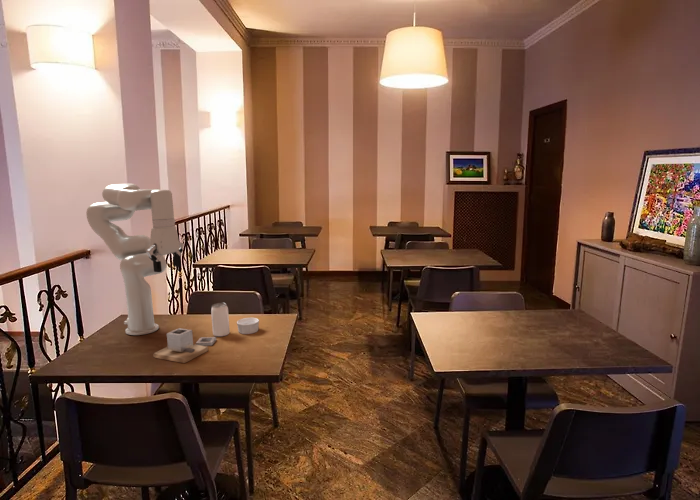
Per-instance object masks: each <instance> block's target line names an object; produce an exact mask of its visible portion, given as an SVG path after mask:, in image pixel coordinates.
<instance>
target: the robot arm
mask: <svg viewBox="0 0 700 500" xmlns="http://www.w3.org/2000/svg"><path fill="white" fill-rule="evenodd" d="M101 195H102V199H103V200H104V201H102V202H101V201H100V202H95V203H92V204H90V205H89V206H88V207H87V209H86V215H85V216H86V219H87V222H88V224H89V226H90V228H91V229H92V230H93V232H94V233H95V234H96V235H98V236H99V237H100V238H101V239H102V240H103V242H104V243H105V244H106V246H107V248H108V249H109V250H110V252H111V254H112V255H113V256H114V257H115V258H116V259H117V260H120V262H119V269H120V274H121V275H122V279H123V283H124V284H123V285H124V291H125V299H126V308H127V318H126V320H124V321H123V324H124V325H127V328H125V330H124V331H125V334H126V335H131V336H140V335H147V334H151V333H154V332H156V331H157V330H159V328H160V327H159V324H158V323H155V318H154V317H155V316H154V307H153V304H154V303H153V294H152V287H151V285H150V283H148V282H147V280H146V279H145V278H146V277H150V276H155V275H159V274H162V273H163V272H165V270H166V268H167V261H166V258H165V256H166V255H171V254H172V255H173V256H172V265H173V267H175V268H176V267H177V268H181V267H182V261H181V260H182V259H181V257H182V252H183V251H184V247H185V243H183V242H182V241H180V240H179V235H178V230H177V227H176V219H175V214H174V202H173V199H174V198H173V193H172V191H171V190H170V189H158V188H145V189H142V188H140V187H139V186H138V185H137V184H135V183H114V184H109V185H106V187H104V189H102V193H101ZM145 210H151V219H152V227H151V230H150V237H149V236H147V235H144V234H139V235H138V234H137V235H127V234H126V232H125V231H124V229H123V228H121V227H120V226H118V225H117V224H115V223H112V222H121V221H122V222H123V221H128V220H129V219H131V218H132V217H133V216H134V214H135V212H136V211H145Z"/></svg>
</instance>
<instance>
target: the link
mask: <svg viewBox="0 0 700 500" xmlns="http://www.w3.org/2000/svg"><path fill="white" fill-rule="evenodd" d="M178 330H182V332H183V333H181V334H177V333H176V331H178ZM193 337H194V336H193V330H192V329H186V328H180V327H178V328H176V329H173V330H171V331H169V332H167V333H166V338H167V339H166V341H167V343H166V344H167V347H168V350H173V351H179V352H182V351H184V350H186V349H188V348H190V347H192V346H193V344H194V340H193V339H194V338H193Z"/></svg>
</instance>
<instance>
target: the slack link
mask: <svg viewBox="0 0 700 500" xmlns="http://www.w3.org/2000/svg"><path fill="white" fill-rule="evenodd" d="M216 341H217V336H206V337H205V336H202V337H199V339H198V340H197V341H196V342H195V345H201V346H207V347H210V346H213V345H214V344H215V343H216Z"/></svg>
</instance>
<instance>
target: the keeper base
mask: <svg viewBox="0 0 700 500" xmlns="http://www.w3.org/2000/svg"><path fill="white" fill-rule="evenodd" d="M176 333H177V334H181V333H183V332H182V330H178V331H176ZM208 351H209V346H201V345H196V343H195V344H194V343H193V346H192V347H190V348H188V349H186V350H184V351H182V352H179V351H173V350H168V346H166V347H164V348H162V349H160V350H157V351H155V352H153V354H152V355H153V358H155V359H160V360H165V361H166V360H167V361H171V362H176V363H182V364H185V363H187V362H190V361H191V360H193V359H196V358H197V357H199V356H201V355H202V354H205V353H206V352H208Z"/></svg>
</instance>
